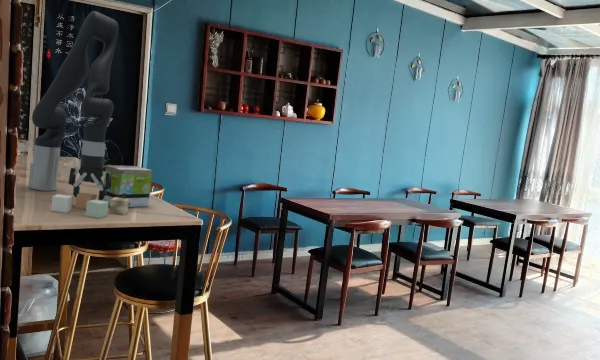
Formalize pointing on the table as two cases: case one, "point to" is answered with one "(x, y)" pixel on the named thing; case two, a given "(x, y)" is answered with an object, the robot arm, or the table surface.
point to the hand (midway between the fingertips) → (88, 198)
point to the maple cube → (119, 205)
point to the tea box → (129, 184)
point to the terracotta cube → (84, 199)
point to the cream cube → (61, 203)
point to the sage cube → (96, 208)
